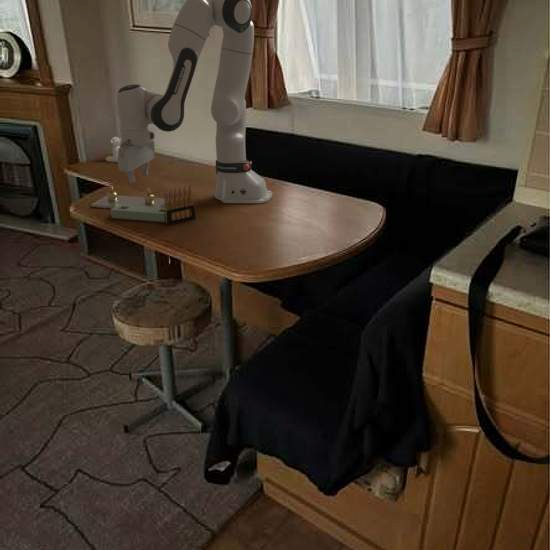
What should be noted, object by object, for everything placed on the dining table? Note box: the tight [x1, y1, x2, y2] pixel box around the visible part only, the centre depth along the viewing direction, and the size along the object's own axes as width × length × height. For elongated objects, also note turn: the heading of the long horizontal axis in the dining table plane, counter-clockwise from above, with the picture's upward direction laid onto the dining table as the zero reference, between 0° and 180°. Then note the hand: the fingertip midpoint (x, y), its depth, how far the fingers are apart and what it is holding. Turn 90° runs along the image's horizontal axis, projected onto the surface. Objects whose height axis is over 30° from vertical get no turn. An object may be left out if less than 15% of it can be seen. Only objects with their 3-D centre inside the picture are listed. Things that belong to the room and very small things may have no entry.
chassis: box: [91, 185, 165, 210], centre depth 201 cm, size 26×12×7 cm, turn 77°
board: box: [110, 204, 165, 223], centre depth 189 cm, size 22×6×3 cm, turn 77°
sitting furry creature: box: [105, 136, 122, 163], centre depth 261 cm, size 10×9×12 cm
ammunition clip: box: [163, 184, 196, 226], centre depth 183 cm, size 11×2×12 cm, turn 125°
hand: (139, 178), depth 183 cm, fingers open, 8 cm apart
